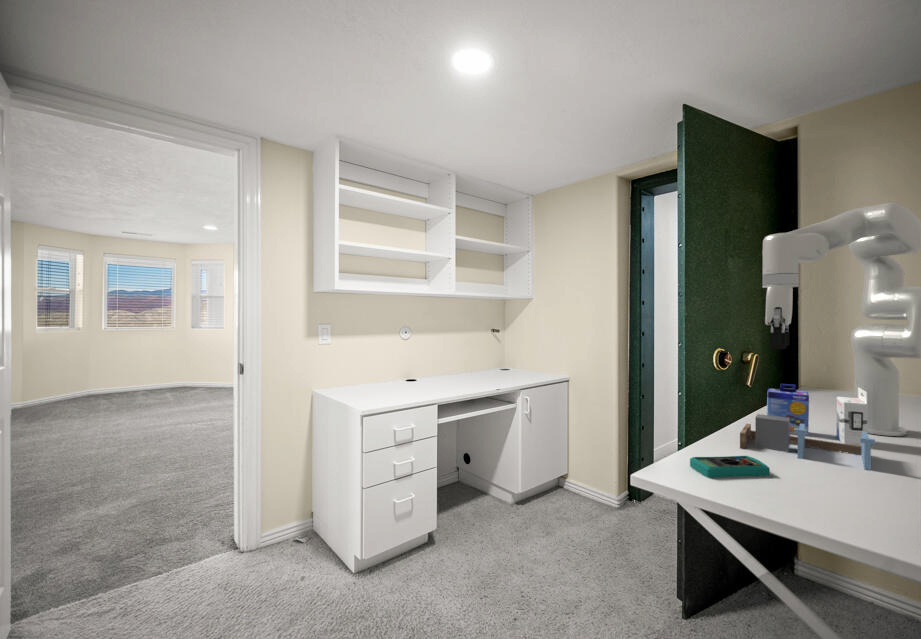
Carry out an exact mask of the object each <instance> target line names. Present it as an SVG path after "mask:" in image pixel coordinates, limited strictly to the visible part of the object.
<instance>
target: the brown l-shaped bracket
mask: <svg viewBox="0 0 921 639" xmlns="http://www.w3.org/2000/svg"><path fill="white" fill-rule="evenodd" d="M751 426H752V425H751V423H746V424H745V425H744V426H743V428H742V429H741V431H740V432H739V449H746V447H747V445H748V444H749V442H750V440H751V439H754V440H755V430H752V427H751ZM792 444H793V445H792ZM790 445H792V446H794V445H795V446H798V436H795V435H794V436H792V435H790ZM805 446H806V447H807V448H812V447H813V448H812V449H818V448H820V449H819V450H825V449H826V450H825V451H831V450H833V451H832V452H838V451H841V452H840V453H844V452H848V453H847V454H851V453H853V454H852V455H857V454H859V456H861V446H856V445H849V444H843V443H842V442H841V443H840V442H836V441H835V442H834V441H828V440H820V439H814V438H808V437H807V438H806V437H805ZM806 447H805V448H806Z"/></svg>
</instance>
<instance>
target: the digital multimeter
mask: <svg viewBox="0 0 921 639" xmlns="http://www.w3.org/2000/svg"><path fill="white" fill-rule="evenodd" d="M689 467H691V468H692V469H693V470H695V471H696V472H697V473H699V474H701V475H702V476H703V477H706V478H708V479H718V478H720V479H721V478H737V477H738V478H740V477H741V478H743V477H769V476H770V474H771V473H770V472H771V471H770V467H769V466H768V465H767V464H765V463H764V462H762V461H761V460H759V459H756V458H754V457H752V456H749V455H734V456H733V455H732V456H731V455H730V456H692V457H690V458H689Z"/></svg>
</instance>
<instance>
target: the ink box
mask: <svg viewBox="0 0 921 639" xmlns="http://www.w3.org/2000/svg"><path fill="white" fill-rule="evenodd" d="M861 393H863V395H864V397H863V396H862V395H861ZM862 431H863V432H867V392H866V391H864V390H862V389H861V388H859V387H858V398H855V397H850V396H849V397H846V396H836V438H837V440H839V441H840V442H841V443H842V444H849V445H856V446H861V444H862V443H860V437H862Z"/></svg>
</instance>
